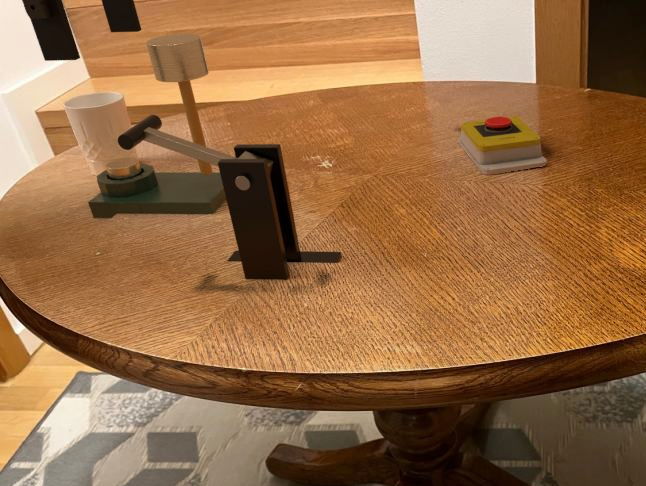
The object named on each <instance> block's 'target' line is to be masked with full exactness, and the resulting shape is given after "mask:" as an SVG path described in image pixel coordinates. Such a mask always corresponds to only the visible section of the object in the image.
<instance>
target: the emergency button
mask: <svg viewBox="0 0 646 486" xmlns="http://www.w3.org/2000/svg"><path fill="white" fill-rule="evenodd" d="M457 142H458V145H459V146H460V147H461V148H462V149H463V151H464V152H465V153H466V154H467V156H468V157H469V158H470V160H471V161H472V163H473V164H474V165H475V166H476V168H477V169H478V170H479V171H480V173H481V174H483V175H487V176H490V175H491V176H492V175H499V174H506V173H512V172H511V171H514V172H519V171H518V170H521V171H524V170H523V169H528V168H533V167H540V166H545V165H546V164H547V165H548V159H547V158H546V157H545V156H544V155H543V154H542V138H541V136H540V135H539V134H538V133H537V132H536V131H535V130H533V128H532V127H530V126H529V125H528V124H527V123H526V122H525V121H523V119H521V118H520V117H519V116H515V115H513V116H494V117H489V118H487V119H480V120H479V119H478V120H472V121H471V120H470V121H465V122H464V121H463V122H462V123H461V125H460V136H458V141H457ZM528 170H529V169H528ZM505 172H506V173H505Z"/></svg>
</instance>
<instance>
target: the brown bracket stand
mask: <svg viewBox="0 0 646 486" xmlns="http://www.w3.org/2000/svg"><path fill="white" fill-rule="evenodd" d="M233 151H234V157H236V158H239V157H240V156H241V155H242V154H243V153H244V152H245V151H246V152H249V153H252V154H255V155H258V156H260V157H263V158H266V159H221V160H220V161H219V162H218V166H219V167H218V166H217V167H218V170H219V172H220V175H221V179H222V183H223V187H224V191H225V196H226V203H227V208H228V212H229V216H230V220H231V224H232V229H233V233H234V238H235V241H236V245H237V250H234V251H233V253H232V254H231V256H229V258H228V259H227V260H226V262H227V263H229V262H233V263H234V262H236V263H238V262H239V263H241V266H242V271H243V276H244V279H245V280H264V281H265V280H270V281H274V280H275V281H287V280H288V279H289V278H290V276H291V274H290V269H289V263H295V264H296V263H298V264H300V263H301V264H303V263H305V264H308V263H309V264H339V263H340V261H341V259H342V257H343V255H342V251H309V250H305V251H302V250H300V243H299V238H298V232H297V226H296V222H295V215H294V210H293V207H292V206H293V205H292V200H291V195H290V190H289V185H288V184H289V183H288V178H287V174H286V173H287V172H286V167H285V162H284V157H283V152H282V147H281V144H280V143H269V144H268V143H267V144H266V143H265V144H264V143H263V144H261V143H256V144H255V143H254V144H253V143H250V144H248V143H247V144H245V143H244V144H241V143H240V144H238V143H237V144H235V146H234V147H233ZM267 159H269V160H272V161H273V165H272V171H271V176H270V173H269V168H268V163H267Z"/></svg>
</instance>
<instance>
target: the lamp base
mask: <svg viewBox="0 0 646 486" xmlns="http://www.w3.org/2000/svg"><path fill="white" fill-rule="evenodd" d="M140 166H141V170H142V174H141V175H139V176H136V177H134V178H131V179H125V180H110V178H109V175H108V172H107V170H105V171H103V172H102V173H100V174H99V175H98V176H96V182H97V185H98V188H99V191H100V192H99V193H98V194H97V195H96V196H94V197H93V198H91V199H90V200H88V202H87V204H88V206H89V209H90V212H91V215H92V216H93V217H92V218H93V219H113V217H115V216H116V215H119V214H121V215H123V214H124V215H126V214H127V215H214V213H216V212H217V211H218V209H220V207H221V206H222V205H223V204H224V203H225V202H227V200H226V196H225V191H224V187H223V183H222V179H221V175H220V171H219V172H213V171H212V174H209V175H202V174H201V171H200V172H197V171H195V172H194V171H192V172H190V171H187V172H182V171H181V172H180V171H179V172H174V171H173V172H170V171H169V172H167V171H166V172H165V171H163V172H159V171H158V172H157V171H155V169H154V168H155V167H154V166H153V165H149V164H147V163H140Z"/></svg>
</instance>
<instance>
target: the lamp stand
mask: <svg viewBox="0 0 646 486" xmlns="http://www.w3.org/2000/svg"><path fill="white" fill-rule="evenodd" d="M145 44H146V49H147V52H148V56H149V59H150V63H151V67H152V71H153V74H154V78H155V80H156V81H157V82H161V83H177V85H178V89H179V92H180V96H181V100H182V104H183V108H184V113H185V116H186V120H187V124H188V128H189V131H190V136H191V139H192V142H193V143H196V144H198V145H201V146H204V147H207V143H206V140H205V136H204V132H203V128H202V122H201V120H200V119H201V118H200V115H199V112H198V111H199V110H198V107H197V103H196V99H195V95H194V91H193V86H192V83H191V81H194V80H197V79H201V78H203V77H205V76H207V75H209V73H210V71H209V67H208V64H207V59H206V54H205V50H204V45H203V42H202V37H201V35H199V34H195V33H177V34H176V33H175V34H168V35H161V36H158V37H157V36H156V37H154V38H151V39H148V40H147V41H146V42H145ZM196 160H197V163H198V167H199V171H200V172H201V174H202V175H209V174H212V172H213V168H212V164H209V163H207V162H204V161H201V160H198V159H196Z"/></svg>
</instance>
